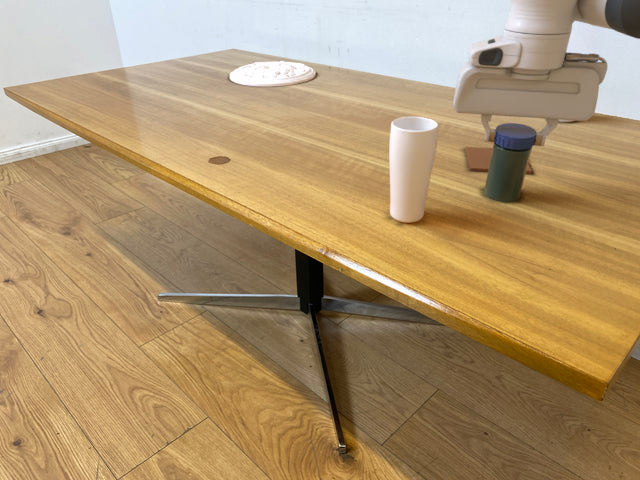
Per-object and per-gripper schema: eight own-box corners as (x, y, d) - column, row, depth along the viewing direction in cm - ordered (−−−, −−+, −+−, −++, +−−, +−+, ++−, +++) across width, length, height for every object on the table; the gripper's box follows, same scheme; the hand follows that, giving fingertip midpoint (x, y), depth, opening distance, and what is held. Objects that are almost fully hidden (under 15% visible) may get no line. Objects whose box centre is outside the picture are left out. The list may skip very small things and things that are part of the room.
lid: (492, 132, 80) (494, 121, 79) (531, 135, 79) (534, 124, 78) (494, 148, 75) (496, 136, 74) (536, 151, 74) (539, 140, 73)
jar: (516, 186, 84) (530, 128, 78) (522, 203, 80) (538, 143, 74) (482, 184, 85) (493, 126, 79) (486, 200, 80) (498, 141, 74)
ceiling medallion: (323, 67, 167) (323, 58, 166) (303, 88, 144) (302, 77, 143) (247, 64, 173) (246, 55, 171) (216, 84, 150) (214, 73, 148)
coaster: (520, 152, 99) (521, 149, 98) (531, 174, 89) (532, 171, 89) (465, 149, 100) (465, 146, 100) (470, 170, 91) (470, 167, 91)
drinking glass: (428, 228, 73) (439, 132, 65) (383, 225, 74) (389, 130, 66) (427, 207, 79) (438, 117, 71) (386, 204, 80) (391, 115, 72)
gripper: (606, 49, 70) (579, 141, 77) (460, 44, 74) (448, 131, 82) (617, 58, 65) (588, 155, 72) (460, 52, 69) (447, 144, 77)
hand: (513, 142), depth 77 cm, fingers closed on lid, 6 cm apart
